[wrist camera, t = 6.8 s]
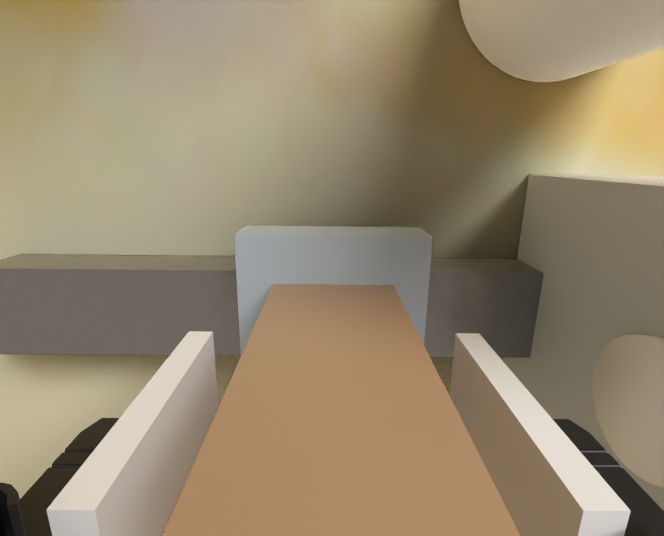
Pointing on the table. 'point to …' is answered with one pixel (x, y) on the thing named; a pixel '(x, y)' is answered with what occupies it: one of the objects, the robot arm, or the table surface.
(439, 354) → the rail
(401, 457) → the carriage
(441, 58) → the table surface
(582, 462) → the robot arm
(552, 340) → the cabinet
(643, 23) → the cup
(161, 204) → the table surface
